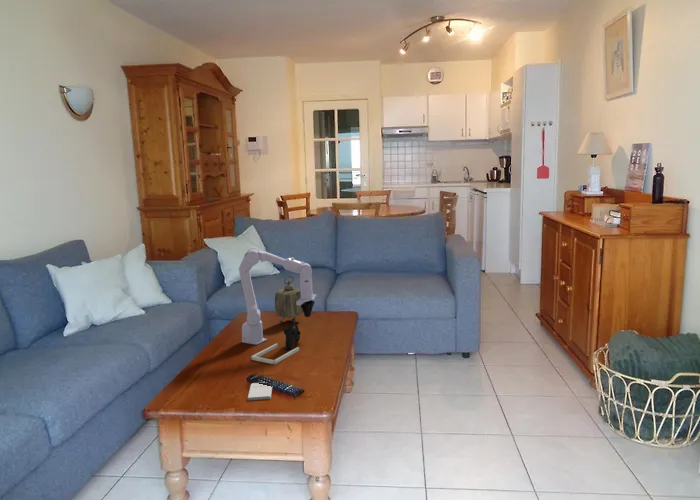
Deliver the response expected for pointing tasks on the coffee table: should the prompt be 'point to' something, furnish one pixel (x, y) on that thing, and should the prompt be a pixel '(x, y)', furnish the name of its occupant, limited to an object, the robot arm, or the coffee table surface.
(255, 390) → the external hard drive
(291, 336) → the gaming controller
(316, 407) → the coffee table surface
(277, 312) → the tabletop clock
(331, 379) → the coffee table surface
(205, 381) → the coffee table surface
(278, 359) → the grey u-shaped bracket
